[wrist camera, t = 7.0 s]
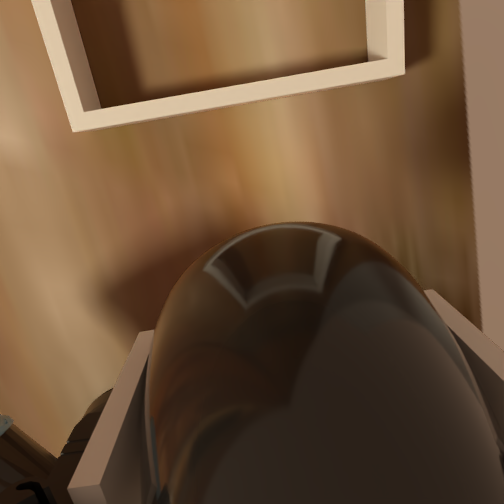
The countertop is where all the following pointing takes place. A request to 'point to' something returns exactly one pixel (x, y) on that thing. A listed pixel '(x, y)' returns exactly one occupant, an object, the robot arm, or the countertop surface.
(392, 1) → the box
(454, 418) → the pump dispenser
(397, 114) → the countertop surface
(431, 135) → the countertop surface
